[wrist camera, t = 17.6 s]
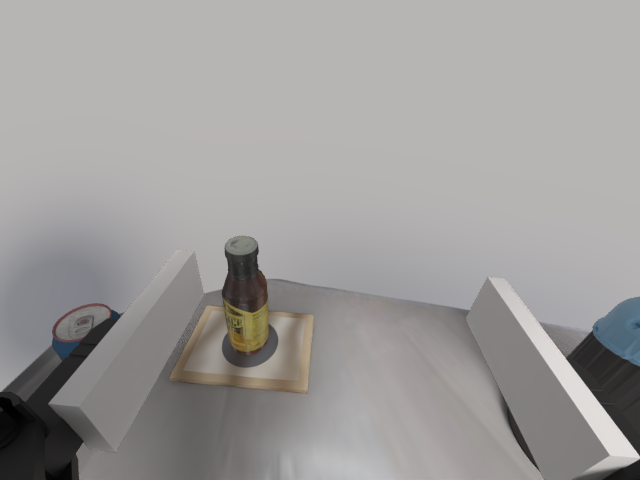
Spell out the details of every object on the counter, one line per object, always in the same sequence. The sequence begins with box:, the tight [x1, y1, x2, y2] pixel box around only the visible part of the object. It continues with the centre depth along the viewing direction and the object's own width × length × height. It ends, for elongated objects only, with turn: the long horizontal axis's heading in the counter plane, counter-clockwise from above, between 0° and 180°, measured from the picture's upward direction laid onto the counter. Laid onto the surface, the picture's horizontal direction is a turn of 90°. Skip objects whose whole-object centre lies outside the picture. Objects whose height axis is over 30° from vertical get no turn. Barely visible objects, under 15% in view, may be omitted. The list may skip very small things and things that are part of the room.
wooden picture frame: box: [169, 305, 314, 393], centre depth 46 cm, size 20×14×1 cm
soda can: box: [52, 304, 120, 361], centre depth 37 cm, size 7×7×12 cm
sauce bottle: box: [222, 236, 269, 355], centre depth 40 cm, size 7×6×20 cm
